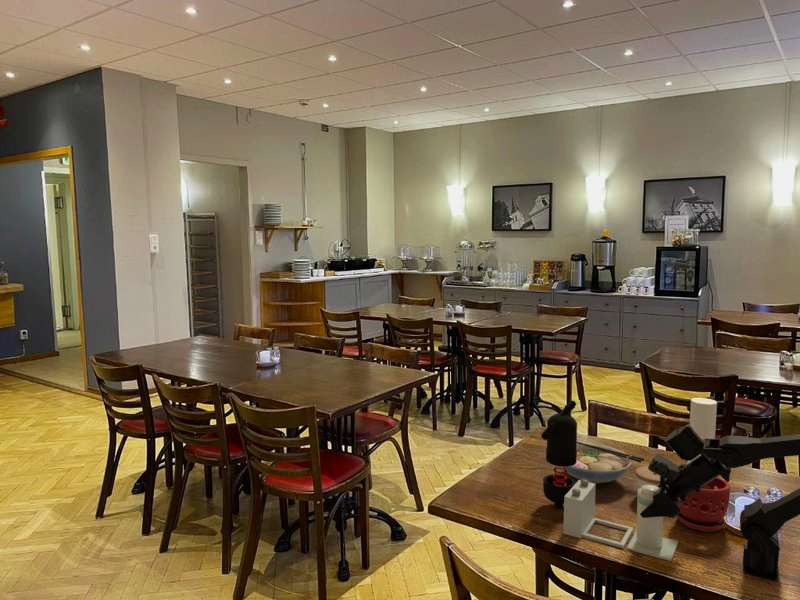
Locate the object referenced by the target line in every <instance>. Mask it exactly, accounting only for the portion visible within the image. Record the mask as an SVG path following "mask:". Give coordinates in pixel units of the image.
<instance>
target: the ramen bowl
mask: <svg viewBox="0 0 800 600" xmlns="http://www.w3.org/2000/svg"><path fill="white" fill-rule="evenodd" d="M576 451H577V462H576V464H574V465H573V466H565V469H566V470H567V472H566V473H567V474H568V475H570V476H571V477H574V478H575V479H577V480H582V479H585V480H588V482H590V483H594V484H596V485H597V484H598V485H599V484H600V485H601V484H602V483H610V482H613V481H616V480H618V479H620V478H621V477H622V476H623V475H624V474H625V473H626V472H627V470H628V469H630V467H631V465H632V464H633V461H635V462H638V463H642V462H644V461H645V458H644V457H639V456H635V455H631V454H627V453H625V452H624V451H622V450H619V449H617V448H614V447H611V446H606V445H601V444H597V443H596V444H595V443H593V444H592V443H583V442H580V441H577V448H576ZM562 468H564V467H562Z"/></svg>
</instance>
